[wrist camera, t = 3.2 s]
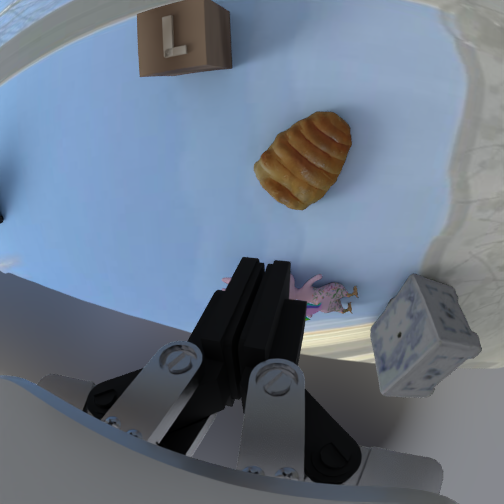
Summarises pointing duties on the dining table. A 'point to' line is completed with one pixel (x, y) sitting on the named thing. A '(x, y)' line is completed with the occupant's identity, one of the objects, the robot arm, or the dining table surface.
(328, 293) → the rabbit figure
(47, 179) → the dining table surface
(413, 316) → the incense holder
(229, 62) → the lettered block
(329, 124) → the pastry
